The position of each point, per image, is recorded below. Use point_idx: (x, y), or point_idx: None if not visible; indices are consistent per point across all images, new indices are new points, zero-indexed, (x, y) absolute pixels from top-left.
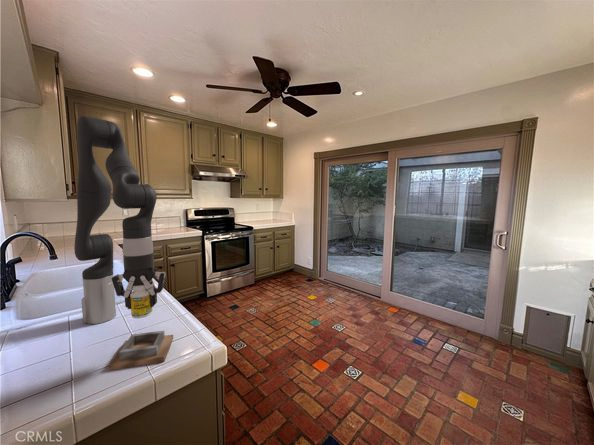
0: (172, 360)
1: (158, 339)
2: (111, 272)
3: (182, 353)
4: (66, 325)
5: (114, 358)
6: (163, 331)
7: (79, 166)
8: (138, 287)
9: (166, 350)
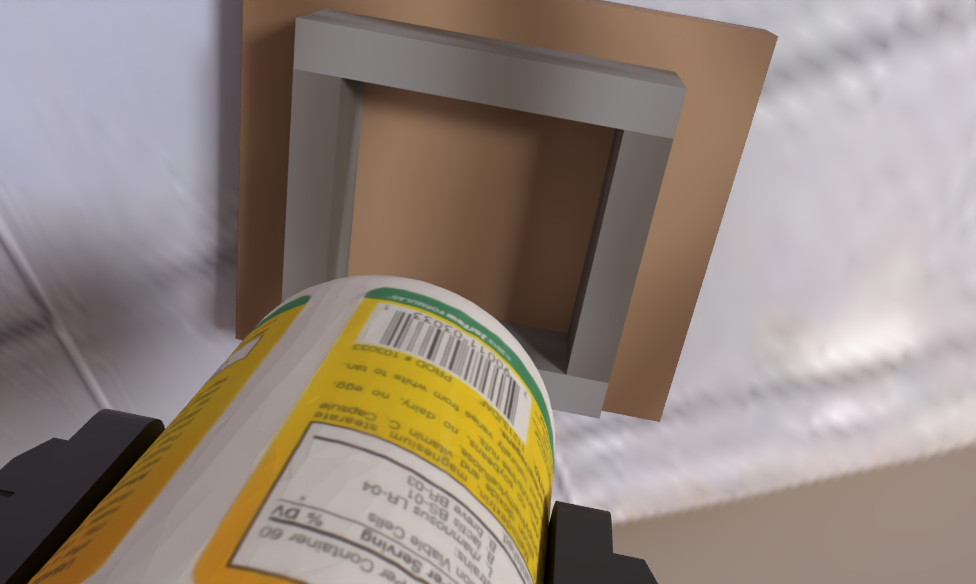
0: (717, 407)
1: (616, 283)
2: None
3: (811, 350)
4: None
5: (250, 263)
6: (674, 112)
7: None
8: None
9: (682, 340)
